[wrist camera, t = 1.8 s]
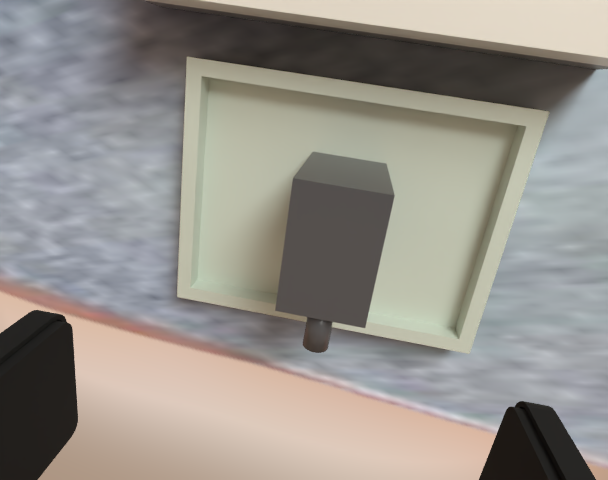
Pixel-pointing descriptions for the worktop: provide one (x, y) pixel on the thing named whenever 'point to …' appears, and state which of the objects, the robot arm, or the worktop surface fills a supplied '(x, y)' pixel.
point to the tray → (361, 145)
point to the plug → (333, 243)
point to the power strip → (444, 23)
